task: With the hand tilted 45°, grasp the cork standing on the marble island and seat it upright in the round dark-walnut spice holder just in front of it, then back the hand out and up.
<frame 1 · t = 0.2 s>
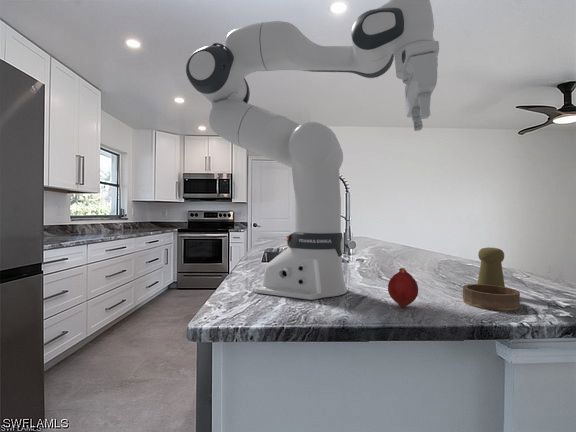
hand: (421, 124, 73), 39 cm above the worktop, tool pointing down, fingers open, 8 cm apart
cork: (490, 295, 77), on the worktop
spice holder: (490, 303, 68), on the worktop
onion: (402, 307, 66), on the worktop
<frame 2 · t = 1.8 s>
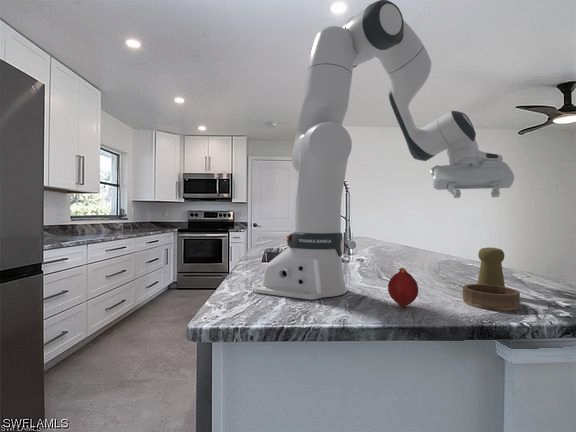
hand: (476, 195, 88), 24 cm above the worktop, tool tilted 45°, fingers open, 8 cm apart
nothing on the worktop moved.
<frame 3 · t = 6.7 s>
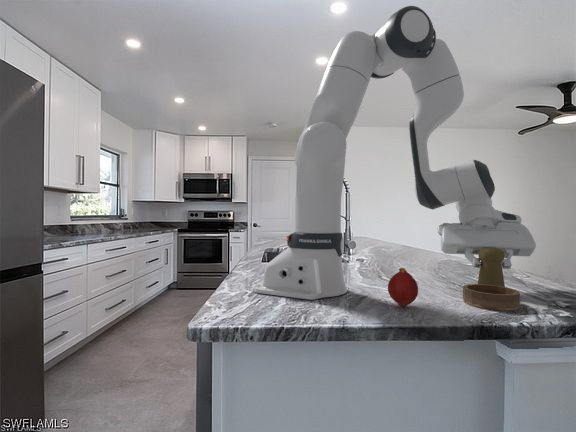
hand: (492, 266, 76), 7 cm above the worktop, tool tilted 45°, fingers closed on cork, 5 cm apart
cork: (490, 295, 77), on the worktop, touching gripper
everything else where it was.
when the fingers open (9 cm above the worktop, at t = 12.4 s): cork drops 1 cm, resting on spice holder.
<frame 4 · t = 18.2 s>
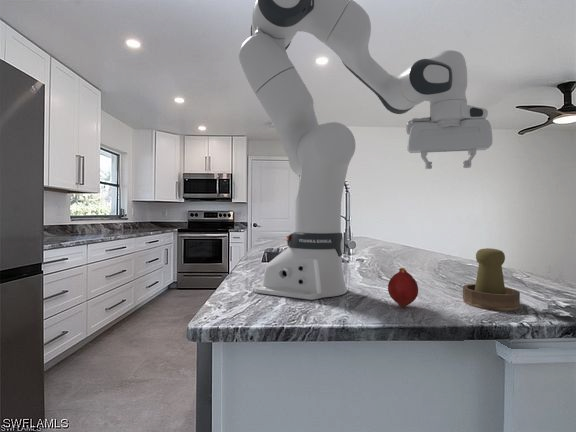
hand: (447, 168, 86), 31 cm above the worktop, tool pointing down, fingers open, 8 cm apart
cork: (489, 301, 68), resting on spice holder
everything else where it was.
at the end: cork 0.1 cm off-centre on the spice holder, point 0.4 cm above the spice holder's base; cork tilted 0°; the gripper is holding nothing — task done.
